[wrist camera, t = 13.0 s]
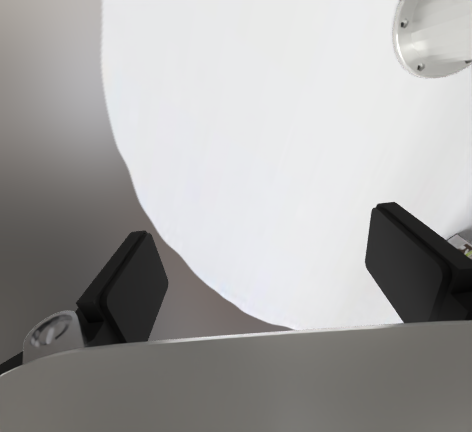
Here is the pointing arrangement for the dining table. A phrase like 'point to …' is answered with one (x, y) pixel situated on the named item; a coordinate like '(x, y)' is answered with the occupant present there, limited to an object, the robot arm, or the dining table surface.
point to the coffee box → (461, 245)
